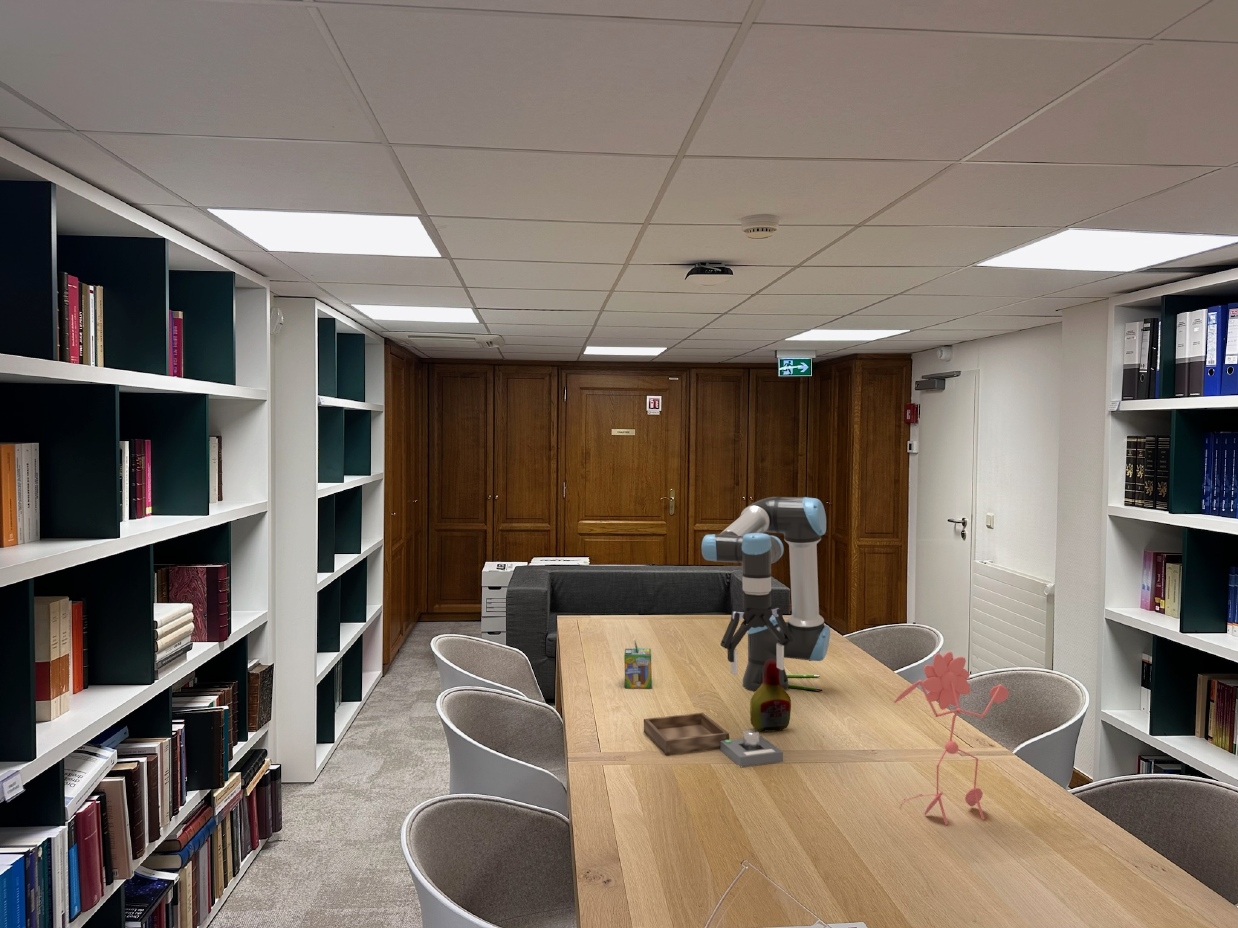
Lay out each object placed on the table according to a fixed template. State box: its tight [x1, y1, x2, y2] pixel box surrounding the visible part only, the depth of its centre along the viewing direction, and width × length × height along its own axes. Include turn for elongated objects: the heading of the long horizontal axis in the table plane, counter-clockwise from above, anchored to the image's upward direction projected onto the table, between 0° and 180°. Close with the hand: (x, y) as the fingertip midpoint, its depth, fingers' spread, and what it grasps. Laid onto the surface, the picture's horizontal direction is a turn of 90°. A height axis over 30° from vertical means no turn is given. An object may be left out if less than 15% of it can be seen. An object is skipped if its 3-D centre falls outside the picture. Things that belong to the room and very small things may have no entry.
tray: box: [643, 712, 730, 756], centre depth 222 cm, size 18×18×4 cm
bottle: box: [749, 659, 792, 733], centre depth 229 cm, size 12×6×20 cm, turn 94°
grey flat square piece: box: [719, 735, 784, 768], centre depth 210 cm, size 12×12×3 cm
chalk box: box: [623, 640, 653, 689], centre depth 274 cm, size 9×9×15 cm
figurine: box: [893, 651, 1009, 826], centre depth 179 cm, size 15×26×35 cm, turn 104°
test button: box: [742, 729, 760, 751], centre depth 210 cm, size 4×4×4 cm
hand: (757, 671), depth 216 cm, fingers open, 13 cm apart
